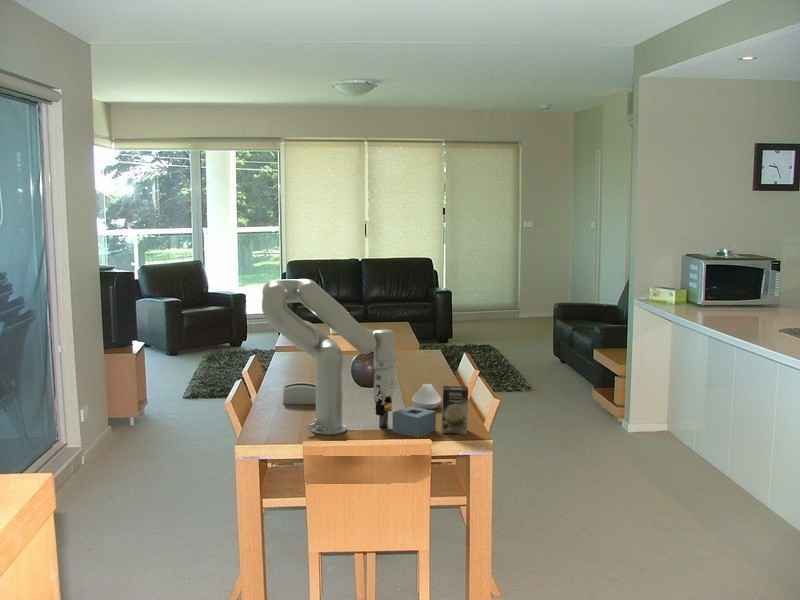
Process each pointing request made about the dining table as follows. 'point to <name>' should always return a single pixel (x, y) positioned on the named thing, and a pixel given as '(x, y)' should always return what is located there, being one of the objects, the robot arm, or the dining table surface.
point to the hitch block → (414, 421)
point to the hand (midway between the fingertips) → (383, 412)
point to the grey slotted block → (299, 393)
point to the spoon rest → (426, 397)
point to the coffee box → (454, 409)
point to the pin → (385, 415)
